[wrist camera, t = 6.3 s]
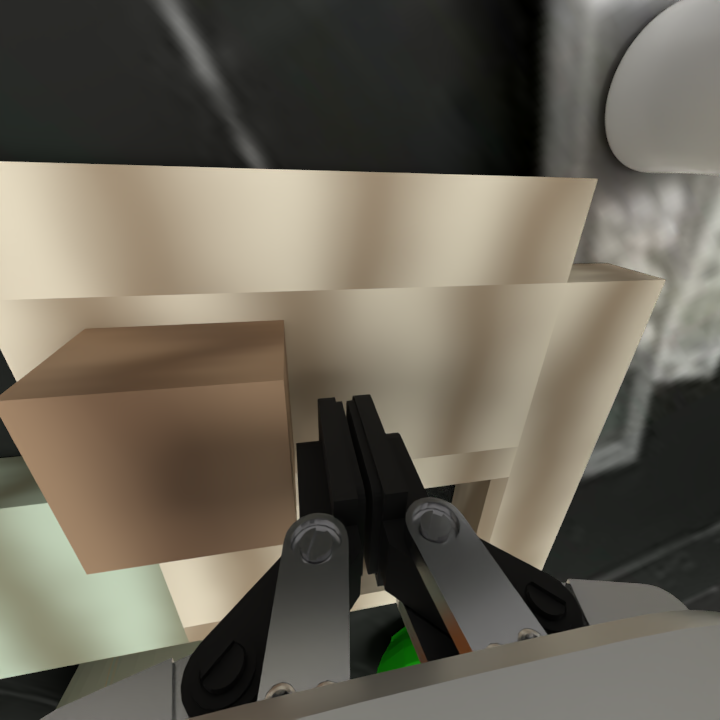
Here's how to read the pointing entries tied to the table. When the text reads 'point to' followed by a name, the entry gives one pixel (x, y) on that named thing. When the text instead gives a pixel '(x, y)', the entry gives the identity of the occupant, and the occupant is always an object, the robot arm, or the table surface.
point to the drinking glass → (669, 94)
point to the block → (161, 440)
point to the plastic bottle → (399, 653)
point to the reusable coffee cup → (119, 669)
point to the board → (315, 352)
